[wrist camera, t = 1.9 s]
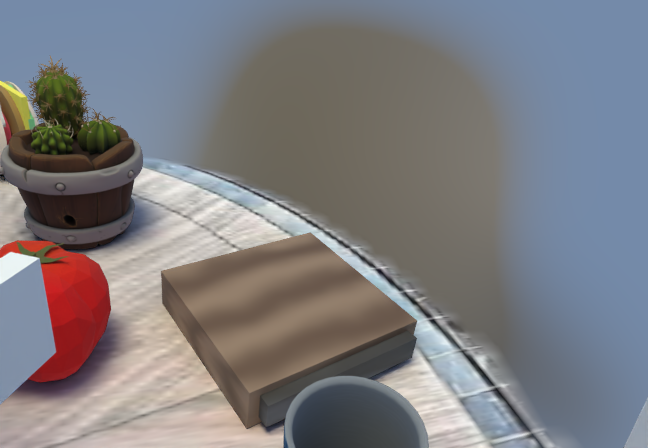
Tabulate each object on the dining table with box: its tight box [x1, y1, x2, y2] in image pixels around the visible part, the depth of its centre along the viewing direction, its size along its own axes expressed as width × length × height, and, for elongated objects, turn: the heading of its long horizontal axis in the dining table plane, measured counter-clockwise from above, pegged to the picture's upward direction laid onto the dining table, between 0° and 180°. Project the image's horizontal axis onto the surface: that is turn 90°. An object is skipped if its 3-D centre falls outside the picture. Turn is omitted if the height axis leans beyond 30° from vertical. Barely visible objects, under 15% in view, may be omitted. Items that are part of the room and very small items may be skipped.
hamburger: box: [0, 81, 39, 174], centre depth 73 cm, size 12×8×12 cm
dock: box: [161, 233, 417, 429], centre depth 52 cm, size 19×18×4 cm
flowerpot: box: [0, 57, 143, 249], centre depth 60 cm, size 14×15×20 cm
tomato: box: [0, 241, 111, 383], centre depth 44 cm, size 11×13×10 cm
